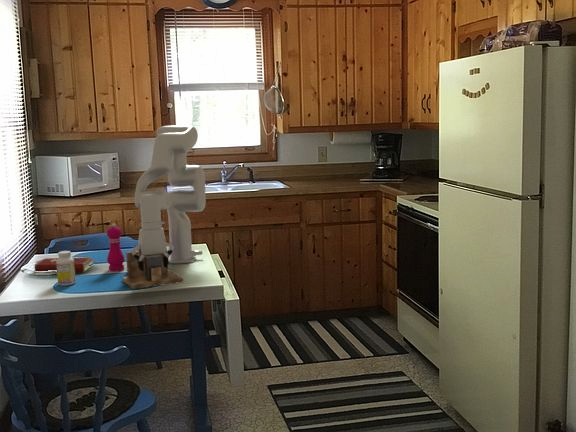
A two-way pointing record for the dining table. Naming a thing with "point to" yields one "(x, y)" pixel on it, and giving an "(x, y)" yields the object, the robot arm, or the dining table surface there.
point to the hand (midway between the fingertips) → (153, 268)
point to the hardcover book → (50, 264)
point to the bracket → (152, 265)
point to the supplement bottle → (65, 269)
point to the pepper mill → (115, 249)
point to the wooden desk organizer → (138, 277)
